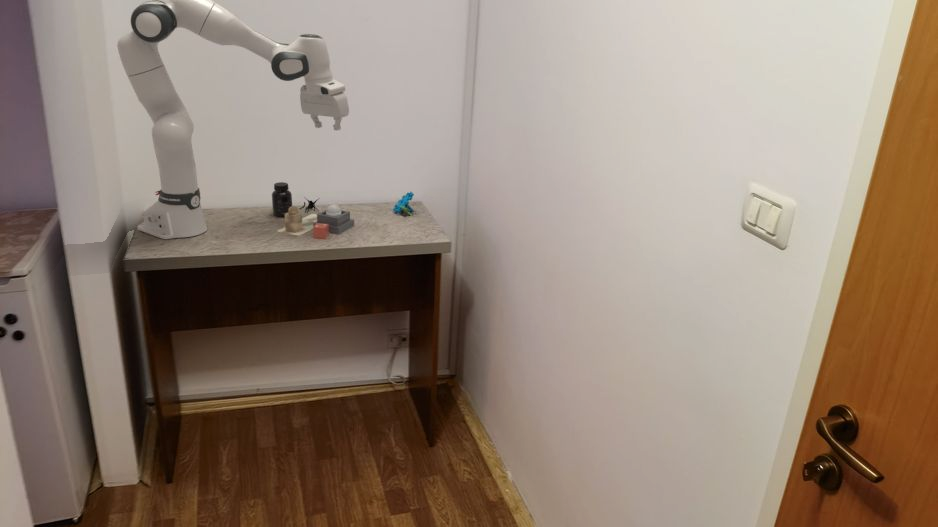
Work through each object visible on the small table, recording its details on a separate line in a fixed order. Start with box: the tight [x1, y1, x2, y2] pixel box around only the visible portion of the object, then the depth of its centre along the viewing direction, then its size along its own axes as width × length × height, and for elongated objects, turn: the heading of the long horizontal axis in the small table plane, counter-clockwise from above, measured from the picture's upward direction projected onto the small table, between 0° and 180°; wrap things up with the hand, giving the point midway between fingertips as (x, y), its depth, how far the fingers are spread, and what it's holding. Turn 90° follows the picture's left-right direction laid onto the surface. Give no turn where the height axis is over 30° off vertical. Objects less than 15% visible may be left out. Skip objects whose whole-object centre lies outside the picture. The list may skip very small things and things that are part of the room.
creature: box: [299, 196, 321, 214], centre depth 260 cm, size 8×5×8 cm
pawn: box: [284, 205, 303, 233], centre depth 239 cm, size 4×4×8 cm
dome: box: [325, 203, 342, 217], centre depth 242 cm, size 5×5×5 cm
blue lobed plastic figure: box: [392, 191, 415, 217], centre depth 265 cm, size 11×6×10 cm
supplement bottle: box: [271, 181, 293, 218], centre depth 253 cm, size 7×7×12 cm
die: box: [312, 223, 330, 240], centre depth 235 cm, size 4×4×4 cm
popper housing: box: [313, 209, 355, 235], centre depth 244 cm, size 10×10×6 cm
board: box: [277, 213, 317, 237], centre depth 245 cm, size 20×21×1 cm
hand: (328, 128), depth 235 cm, fingers open, 8 cm apart
